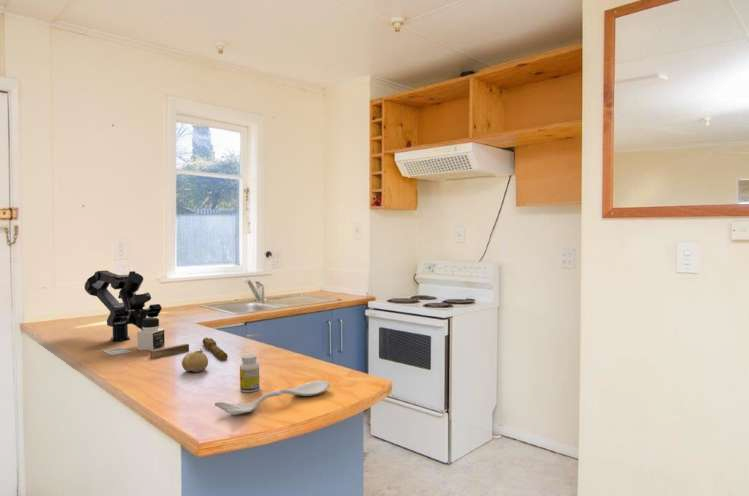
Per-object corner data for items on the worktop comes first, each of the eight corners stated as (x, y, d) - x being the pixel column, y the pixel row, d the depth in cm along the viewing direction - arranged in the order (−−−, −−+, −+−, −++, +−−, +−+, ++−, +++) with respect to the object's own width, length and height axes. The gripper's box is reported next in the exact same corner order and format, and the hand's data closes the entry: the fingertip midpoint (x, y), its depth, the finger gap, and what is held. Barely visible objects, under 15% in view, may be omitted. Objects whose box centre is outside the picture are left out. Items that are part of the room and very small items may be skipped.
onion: (192, 376, 156) (192, 353, 156) (176, 372, 161) (176, 350, 160) (213, 369, 163) (213, 348, 163) (197, 366, 167) (197, 345, 167)
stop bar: (150, 357, 180) (150, 350, 179) (186, 349, 190) (185, 343, 190) (153, 358, 178) (152, 351, 178) (189, 350, 189) (188, 344, 189)
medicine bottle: (153, 351, 189) (152, 319, 189) (137, 350, 191) (136, 319, 190) (165, 346, 196) (164, 316, 196) (149, 345, 198) (148, 316, 197)
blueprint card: (102, 350, 190) (102, 350, 190) (122, 347, 194) (122, 347, 194) (110, 355, 182) (110, 354, 182) (130, 352, 187) (130, 351, 187)
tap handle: (219, 353, 174) (201, 337, 200) (219, 362, 174) (201, 344, 200) (228, 352, 176) (209, 336, 201) (228, 360, 176) (209, 343, 201)
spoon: (214, 414, 124) (213, 401, 124) (316, 386, 146) (316, 374, 146) (231, 424, 117) (231, 410, 117) (336, 393, 140) (336, 381, 140)
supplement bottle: (242, 387, 145) (241, 353, 144) (260, 386, 145) (260, 353, 145) (238, 393, 139) (238, 358, 139) (258, 392, 140) (257, 358, 139)
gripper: (112, 288, 192) (126, 320, 185) (159, 284, 207) (173, 313, 200) (104, 307, 197) (117, 338, 191) (150, 301, 212) (164, 330, 205)
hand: (144, 329), depth 197 cm, fingers closed
